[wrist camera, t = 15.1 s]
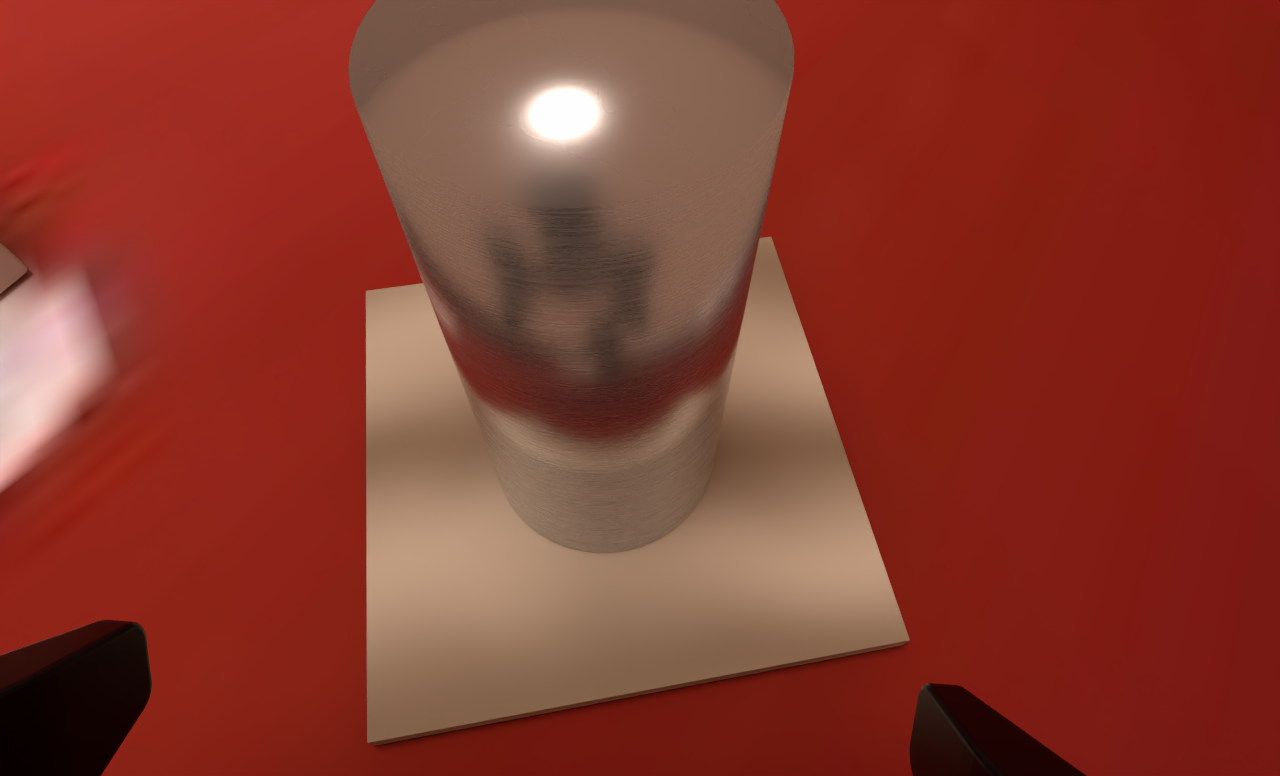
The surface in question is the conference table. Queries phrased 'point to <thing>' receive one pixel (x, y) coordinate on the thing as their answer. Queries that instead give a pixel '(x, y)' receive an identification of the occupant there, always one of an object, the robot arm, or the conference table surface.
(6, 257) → the small box
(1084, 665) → the conference table surface
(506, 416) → the steel flask
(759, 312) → the beige square tile
